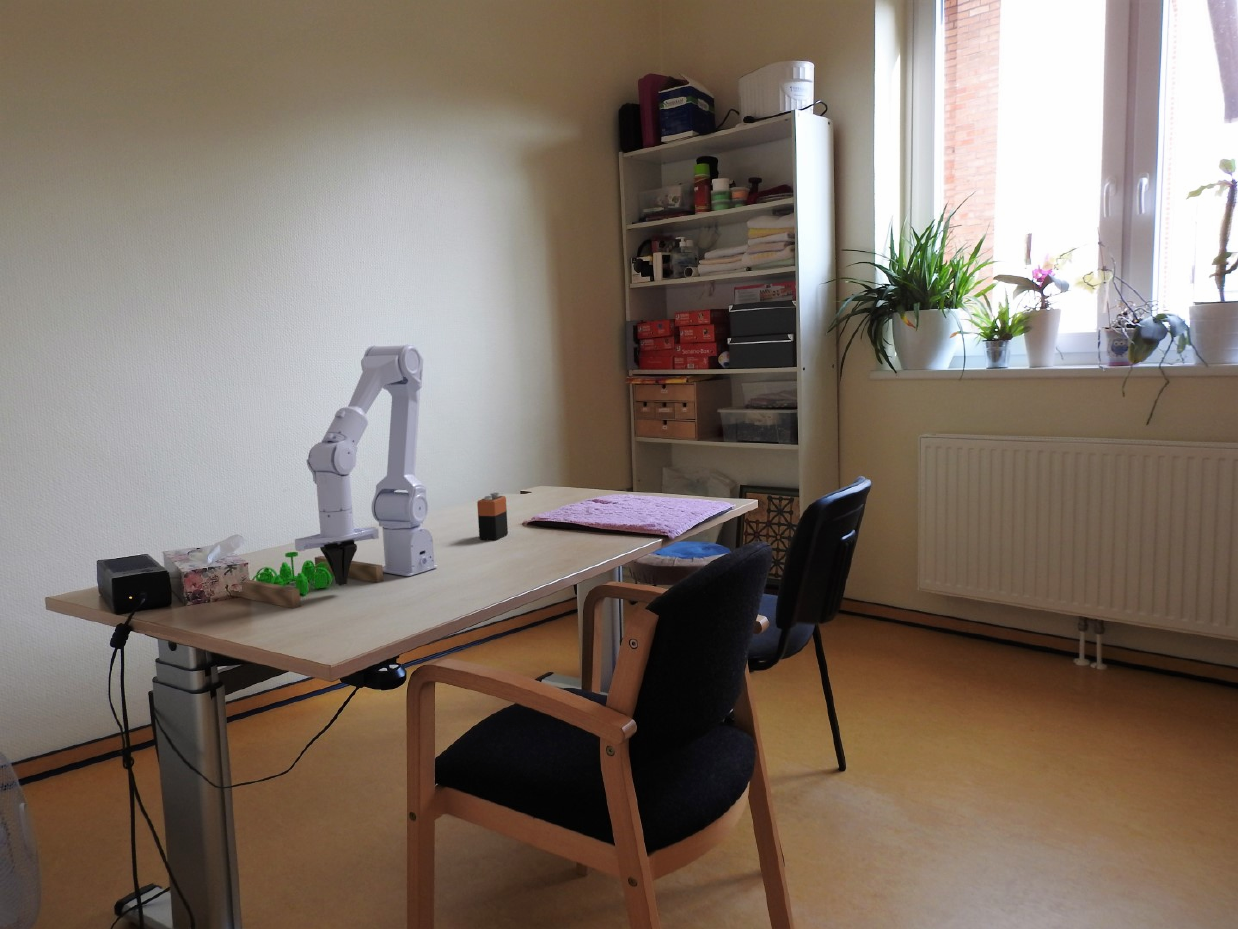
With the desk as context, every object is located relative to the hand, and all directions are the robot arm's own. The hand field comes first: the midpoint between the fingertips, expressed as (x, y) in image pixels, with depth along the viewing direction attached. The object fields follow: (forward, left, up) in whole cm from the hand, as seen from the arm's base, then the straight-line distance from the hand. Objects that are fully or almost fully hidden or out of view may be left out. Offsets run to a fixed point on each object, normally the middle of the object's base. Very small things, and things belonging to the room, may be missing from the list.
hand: (341, 583), depth 162 cm
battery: (+7, -49, -2) cm, 50 cm away
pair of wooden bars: (+9, 0, -2) cm, 10 cm away
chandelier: (+12, +1, -2) cm, 12 cm away
